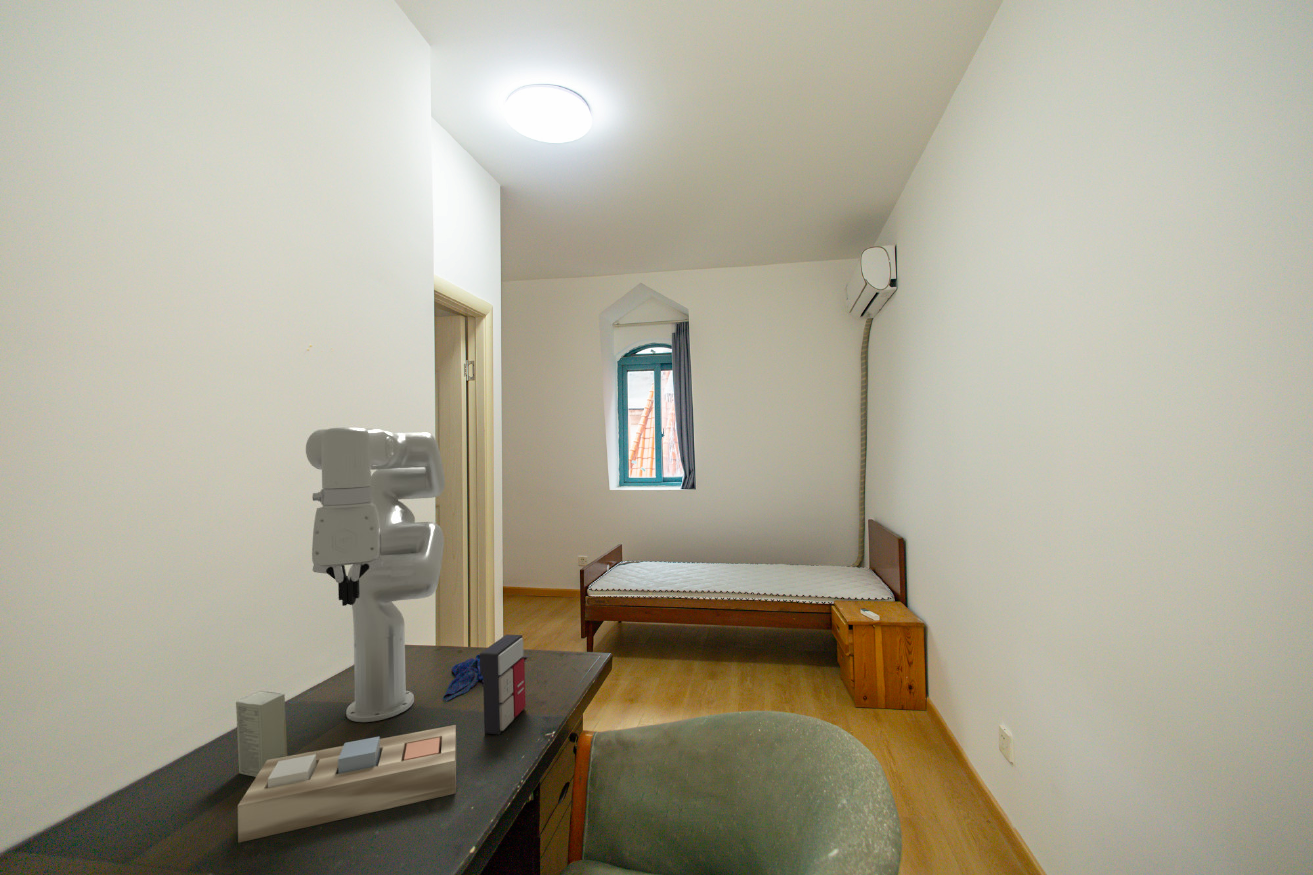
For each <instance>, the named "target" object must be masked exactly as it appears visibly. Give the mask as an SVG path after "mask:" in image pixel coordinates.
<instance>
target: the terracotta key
mask: <svg viewBox="0 0 1313 875" xmlns="http://www.w3.org/2000/svg"><path fill="white" fill-rule="evenodd" d="M435 754H440V737H439V738H434V739H429V740H424V741H418V742H413V743H408V744H407V747H406V752H405V757H404V761H405V760H410V759H415V758H420V757H425V756H430V755H435Z"/></svg>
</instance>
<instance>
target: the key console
mask: <svg viewBox="0 0 1313 875" xmlns="http://www.w3.org/2000/svg"><path fill="white" fill-rule="evenodd" d="M456 729H457V725H456V724H452V725H448V726H442V727H438V728H437V727H436V728H432V729H426V730H422V731H415V732H411V733H406V734H400V735H394V736H390V737H384V738H383V737H382V738H380V758H379V761H378V765H377V766H375V767H371V768H366V769H361V770H356V771H351V772H346V773H341V774H338V758H339V756H340V754H341V751H342V749H343V746H344V745H339V746H335V747H330V748H323V749H320V750H314V751H309V752H308V751H307V752H302V753H298V754H293V755H287V756H286V757H281V758H276V759H270V760H267V761H266V763H265V764H264V766H263V767H262V769H261V770H260V772H259V773H258V775H257V777H254V778H255V779H254V780H253V782H252V783H251V785H250V786H249V788H248V789H247V791H245V792H246V793H245V794H244V795H243V796H242V798H241V799H240V801H239V803H238V805H237V837H238V838H237V840H238V841H237V842H238V843H244V842H247V841H252V840H256V839H260V838H264V837H269V836H273V835H274V836H275V835H278V834H282V833H286V832H291V831H295V830H300V829H304V828H309V827H314V826H319V825H322V824H326V823H332V822H336V821H339V820H344V819H348V818H353V817H357V816H361V815H367V814H370V813H375V812H380V811H383V810H388V809H392V808H398V807H401V806H407V805H411V804H415V803H419V802H420V803H421V802H424V801H427V800H432V799H437V798H441V797H446V796H450V795H454V794H457V730H456ZM439 737H440V754H435V755H430V756H425V757H420V758H415V759H410V760H405V761H404V757H405V752H406V747H407V744H408V743H413V742H418V741H424V740H429V739H434V738H439ZM314 754H316V768H315V770H314V773H313V775H312V777H311V779H310V780H306V781H301V782H296V783H291V784H286V785H281V786H276V787H271V788H268V778H269V776H270V775H271V773H272V771H273V770H274V768H275V766H276V765H277V763H278V761H282V760H287V759H293V758H298V757H303V756H308V755H314ZM238 843H237V844H238Z"/></svg>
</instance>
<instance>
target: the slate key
mask: <svg viewBox="0 0 1313 875" xmlns="http://www.w3.org/2000/svg"><path fill="white" fill-rule="evenodd" d="M380 739H381V736H374V737H370V738H364V739H359V740H353V741H348V742H344V744H343V745H342V746H343V749H342V751H341V754H340V756H339V758H338V774H341V773H346V772H351V771H356V770H361V769H366V768H371V767H375V766H377V765H378V761H379V758H380Z"/></svg>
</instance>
